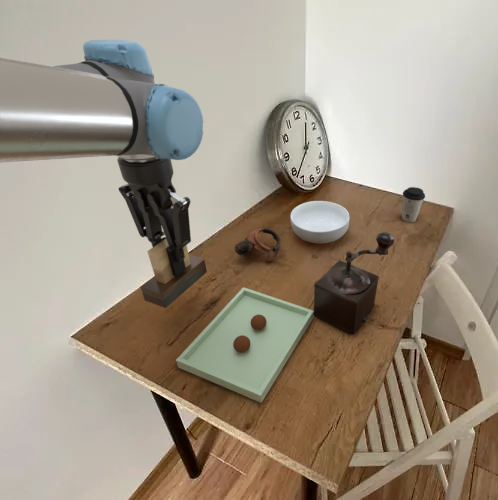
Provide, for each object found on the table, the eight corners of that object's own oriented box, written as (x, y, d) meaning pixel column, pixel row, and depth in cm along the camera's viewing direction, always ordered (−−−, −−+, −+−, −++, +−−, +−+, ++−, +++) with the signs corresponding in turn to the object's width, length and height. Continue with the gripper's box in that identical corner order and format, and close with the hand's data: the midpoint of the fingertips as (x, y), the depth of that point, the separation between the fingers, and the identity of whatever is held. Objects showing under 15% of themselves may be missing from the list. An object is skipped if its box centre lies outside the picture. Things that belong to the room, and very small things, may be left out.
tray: (261, 403, 61) (260, 395, 60) (178, 367, 65) (175, 359, 64) (313, 318, 77) (313, 310, 76) (244, 294, 82) (243, 287, 81)
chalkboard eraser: (165, 308, 66) (152, 264, 60) (144, 300, 68) (129, 256, 62) (207, 272, 76) (199, 230, 70) (187, 265, 77) (178, 224, 71)
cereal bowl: (305, 215, 112) (305, 195, 108) (355, 228, 108) (357, 207, 104) (280, 243, 99) (279, 222, 95) (335, 258, 95) (337, 237, 91)
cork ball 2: (261, 335, 72) (260, 325, 70) (248, 330, 72) (246, 319, 71) (269, 324, 74) (269, 314, 72) (256, 320, 75) (255, 309, 73)
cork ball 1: (245, 358, 67) (243, 347, 65) (230, 352, 68) (228, 341, 66) (254, 346, 70) (253, 335, 68) (240, 340, 70) (238, 329, 68)
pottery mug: (260, 240, 101) (272, 221, 96) (276, 266, 98) (290, 249, 93) (222, 247, 92) (234, 227, 87) (239, 277, 89) (252, 258, 84)
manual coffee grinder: (355, 337, 74) (365, 271, 63) (312, 315, 78) (313, 249, 67) (386, 295, 85) (399, 232, 74) (346, 277, 89) (353, 216, 78)
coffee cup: (406, 226, 111) (412, 197, 105) (393, 215, 116) (399, 187, 110) (424, 221, 114) (430, 193, 108) (410, 211, 119) (416, 184, 113)
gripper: (199, 155, 57) (218, 270, 70) (125, 138, 61) (157, 250, 74) (164, 172, 51) (192, 293, 65) (85, 152, 55) (127, 270, 69)
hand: (173, 270), depth 69 cm, fingers closed on chalkboard eraser, 2 cm apart
